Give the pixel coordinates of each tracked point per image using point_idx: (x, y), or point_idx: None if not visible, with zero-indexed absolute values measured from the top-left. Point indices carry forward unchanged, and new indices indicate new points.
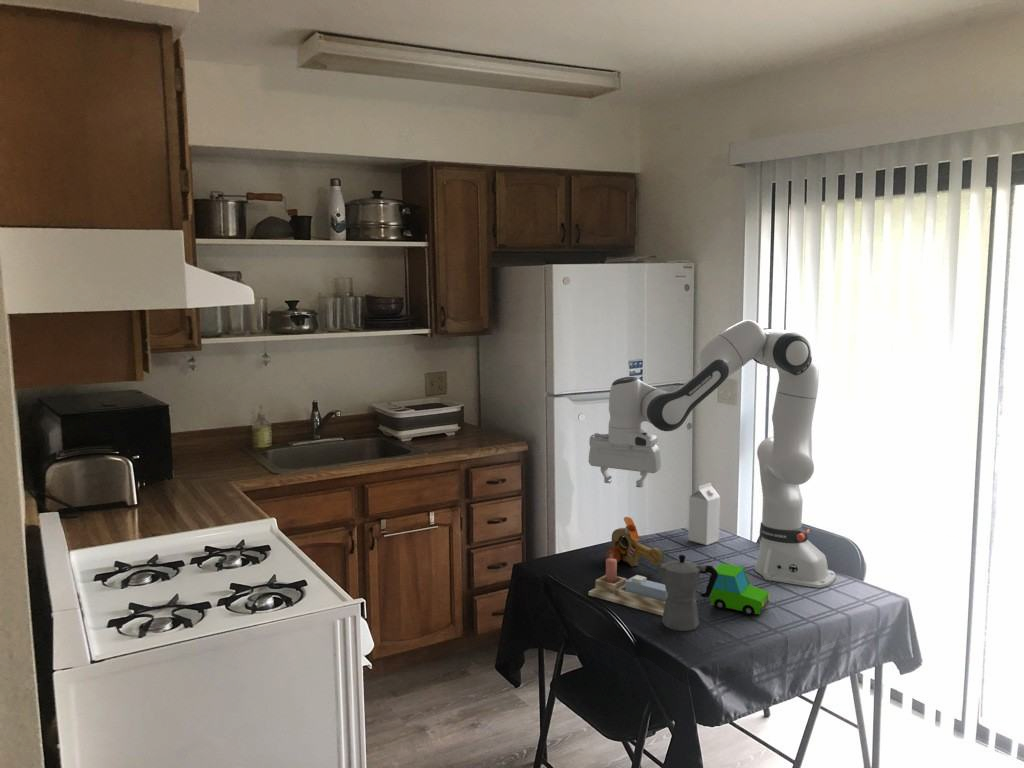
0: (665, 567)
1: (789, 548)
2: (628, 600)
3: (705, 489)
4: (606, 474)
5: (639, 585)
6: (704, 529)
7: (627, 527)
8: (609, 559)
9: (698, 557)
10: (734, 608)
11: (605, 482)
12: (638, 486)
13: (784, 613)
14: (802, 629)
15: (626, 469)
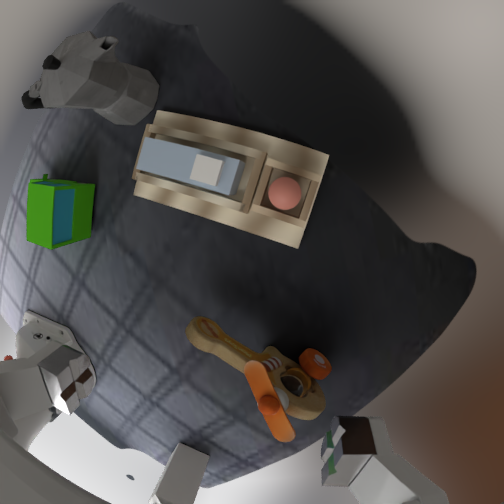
0: (93, 40)
1: (26, 353)
2: (232, 136)
3: None
4: (373, 485)
5: (203, 150)
6: (175, 460)
7: (280, 403)
8: (291, 198)
9: (173, 404)
10: (66, 180)
11: (371, 417)
12: (68, 347)
13: None
14: (19, 169)
15: (54, 478)
